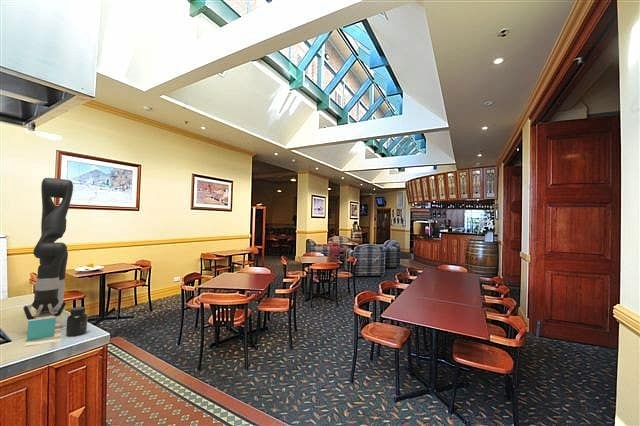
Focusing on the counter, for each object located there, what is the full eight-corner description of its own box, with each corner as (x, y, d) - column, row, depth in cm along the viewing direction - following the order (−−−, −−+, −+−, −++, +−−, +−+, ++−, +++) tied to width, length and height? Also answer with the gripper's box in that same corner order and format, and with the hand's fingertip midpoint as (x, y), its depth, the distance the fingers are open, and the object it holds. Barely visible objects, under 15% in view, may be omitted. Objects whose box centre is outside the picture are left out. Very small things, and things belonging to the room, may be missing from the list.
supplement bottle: (84, 332, 126) (86, 305, 127) (88, 336, 122) (90, 308, 123) (63, 336, 121) (66, 308, 122) (67, 341, 117) (69, 311, 117)
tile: (26, 339, 113) (28, 319, 113) (54, 334, 119) (55, 316, 119) (26, 341, 112) (28, 321, 112) (54, 336, 118) (55, 317, 118)
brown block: (35, 328, 122) (37, 312, 123) (51, 326, 126) (52, 310, 126) (34, 336, 114) (35, 319, 115) (50, 334, 118) (52, 317, 118)
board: (29, 329, 126) (29, 326, 126) (59, 324, 133) (60, 322, 133) (24, 350, 107) (25, 346, 107) (60, 343, 114) (60, 340, 114)
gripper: (68, 284, 131) (65, 321, 130) (24, 288, 121) (20, 328, 121) (69, 287, 126) (65, 326, 125) (23, 291, 116) (18, 333, 115)
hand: (43, 327), depth 123 cm, fingers closed on brown block, 4 cm apart
